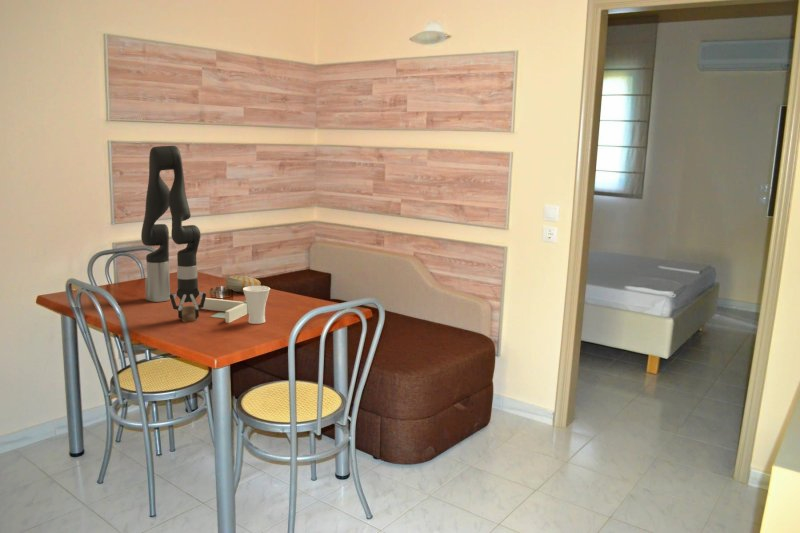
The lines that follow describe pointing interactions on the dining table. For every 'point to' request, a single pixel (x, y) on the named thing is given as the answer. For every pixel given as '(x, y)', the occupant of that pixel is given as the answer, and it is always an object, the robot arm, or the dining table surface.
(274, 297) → the dining table surface
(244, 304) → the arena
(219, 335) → the dining table surface
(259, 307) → the cup
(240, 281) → the nautilus
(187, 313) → the block
